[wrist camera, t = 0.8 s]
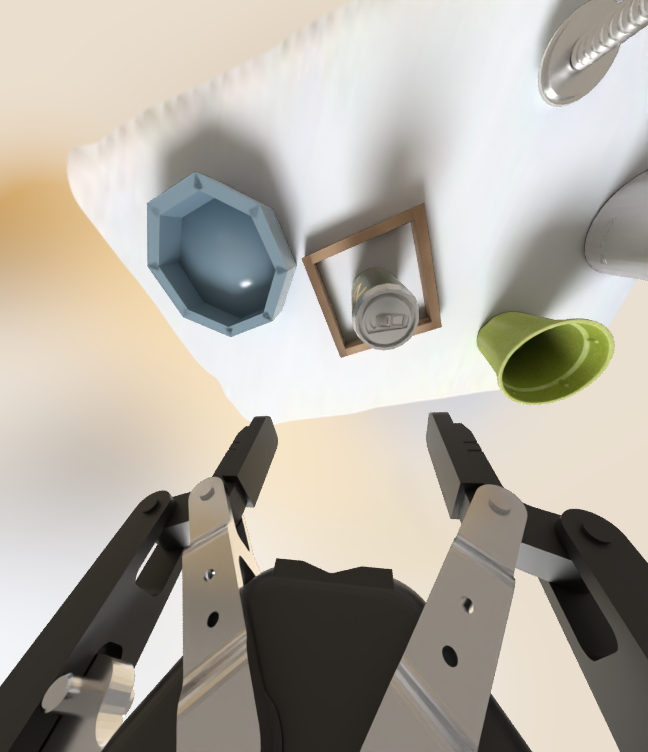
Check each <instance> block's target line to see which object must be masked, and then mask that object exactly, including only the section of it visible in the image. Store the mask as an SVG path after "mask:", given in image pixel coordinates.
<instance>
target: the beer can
mask: <svg viewBox="0 0 648 752" xmlns="http://www.w3.org/2000/svg"><path fill="white" fill-rule="evenodd" d="M352 321H353V328H354V330H355V332H356V334H357V336H358V337H359V338H360V339H361V340H362V341H363V342H364V343H365V344H366V345H367V346H369V347H372V348H374V349H378V350H389V349H394V348H397V347H399V346H401V345H403V344H404V343H405V342H407V341H408V340H409V339H410V338H411V337H412V335H413V334H414V332H415V331H416V329H417V326H418V323H419V306H418V304H417V301H416V298H415V297H414V295H413V294H412V293H411V292H410V291H409V290H408V289H407V288H406V287H405V286H404V285H403V284H402V283H401V282H400V281H399V280H397V279H396V278H395V277H394V276H393V275H392V274H391V273H390V272H389V271H387V270H385V269H383V268H376V267H375V268H370V269H367V270H365V271H364V272H362V273H361V274H360V275H359V276H358V277H357V278H356V280H355V282H354V284H353V287H352Z"/></svg>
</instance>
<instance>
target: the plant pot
mask: <svg viewBox="0 0 648 752" xmlns="http://www.w3.org/2000/svg"><path fill="white" fill-rule="evenodd" d="M477 346H478V348H479V350H480V351H481V353H482V354H483V355H484V357H485V358H486V360H487V361H488V362H489V364H490V365H491V367H492V368H493V369H494V371H495V372H496V374H497V380H498V385H499V387H500V389H501V391H502V392H503V393H504V395H505V396H506V397H508V398H509V399H511V400H512V401H515V402H518V403H522V404H527V405H541V404H548V403H553V402H556V401H559V400H563V399H565V398H567V397H570V396H572V395H574V394H576V393H578V392H580V391H581V390H583V389H584V388H586V387H587V386H589V385H590V384H591V383H592V382H594V381H595V380H596V379H597V378H598V377H599V376H600V375H601V374H602V373H603V371H604V370H605V369H606V367H607V366H608V364H609V362H610V360H611V358H612V356H613V353H614V347H615V344H614V339H613V336H612V334H611V332H610V331H609V330H608V329H607V328H606V327H605V326H604V325H602V324H600V323H598V322H596V321H592V320H588V319H567V320H553V319H548V318H543V317H539V316H534V315H530V314H525V313H520V312H505V313H502V314H499V315H497V316H495V317H493V318H492V319H491V320H490V321H489V322H488V323H487V324H486V325H485V326H484V327H483V328H481V330H480V332H479V334H478V337H477Z"/></svg>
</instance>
